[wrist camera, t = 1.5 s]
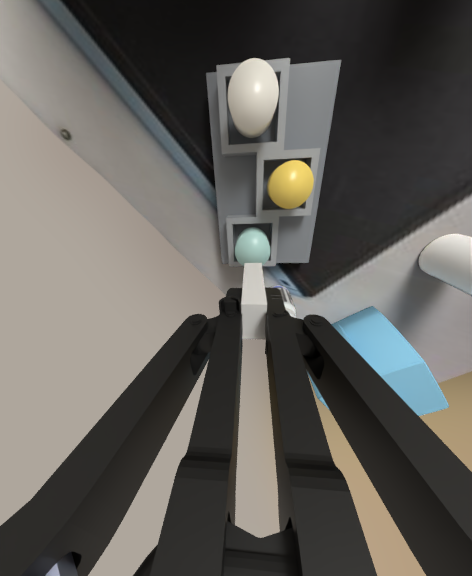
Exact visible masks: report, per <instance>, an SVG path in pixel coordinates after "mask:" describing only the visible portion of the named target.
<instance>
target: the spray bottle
mask: <svg viewBox="0 0 472 576" xmlns="http://www.w3.org/2000/svg"><path fill="white" fill-rule="evenodd" d="M419 266H420V268H421V270H423V271H424V272H425V273H427V274H429V275H431V276H433V277H435V278H437V279H439V280H441V281H443V282H445V283H447V284H449V285H451V286H453V287H455V288H457V289H459V290H461V291H463V292H465V293H467V294H469V295H471V296H472V237H469V236H465V235H460V234H448V235H445V236H441V237H439V238H437V239H435V240H434V241H432V242H431V243H430V244H428V245H427V246H426V247H425V248H424V250H423V251H422V252H421V254H420V257H419Z"/></svg>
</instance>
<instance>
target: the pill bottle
mask: <svg viewBox="0 0 472 576" xmlns="http://www.w3.org/2000/svg"><path fill="white" fill-rule="evenodd" d="M271 288H278V289H279V290H280V291H281V295H282V299H283V302H284V306H285V309H286V310H287V311H288V312H289V314H290V316H292V317H294V318H296V309H295V306H294V304H293V301H292V298H291V296H290V293H289V291H288V289H287V288H285V287H283V286H280V285H276V286H273V287H271Z"/></svg>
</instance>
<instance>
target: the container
mask: <svg viewBox="0 0 472 576" xmlns="http://www.w3.org/2000/svg"><path fill="white" fill-rule="evenodd" d="M331 325H332V326H333V327H334V328H335V329H336V330H337V331H338V332H339V333H340V334H341V335H342V336H343V337H344V338H345V339H346V341H347V342H348V343H349V344H350V345H351V346H352V347H353V348H354V349H355V350H356V351H357V352H358V353H359V354H360V355H361V356H362V357H363V358H364V359H365V361H366V362H367V363H368V364H369V365H370V366H371V367H372V368H373V369H374V370H375V371H376V372H377V373H378V374H379V375H380V376H381V377H382V378H383V379H384V381H385V382H386V383H387V384H388V385H389V386H390V387H391V388H392V389H393V390H394V391H395V392H396V393H397V394H398V395H399V396H400V397H401V398H402V399H403V401H404V402H405V403H406V404H407V405H408V406H409V407H410V408H411V409H412V410H413V411H414V412H415V413H416V414H417V415H418V416H420V415H424V414H428V413H432V412H435V411H438V410H442V409H445V408H448V407H449V405H448V403H447V401H446V399H445V397H444V395H443V393H442V391H441V389H440V387H439V386H438V384H437V382H436V380H435V378H434V377H433V375H432V373H431V371H430V370H429V368H428V366H427V364H426V363H425V361H424V360H423V359H422V358H421V357H420V355H419V354H418V353H417V352H416V351H415V349H414V348H413V347H412V346H411V345H410V344H409V343H408V341H407V340H406V339H405V338H404V337H403V336H402V335H401V333H400V332H399V331H398V330H397V329H396V328H395V327H394V326H393V325H392V324H391V323H390V322H389V321H388V320H387V318H386V317H385V316H384V315H383V314H382V313H380V312H379V311H378V310H377V309H376V308H374V307H373V306H371V307H368V308H366V309H364V310H361V311H359V312H357V313H355V314H353V315H351V316H348V317H346V318H344V319H342V320H340V321H338V322H336V323H334V324H331ZM308 375H309V373H308ZM309 378H310V380H311V383H312V386H313V388H314V390H315V393H316V396H317V398H318V399H319V400H320V401H321V402H322V403H323V404H324V405H325V406H326V407H327V408H328V406H327V404H326V403H325V401H324V399H323V397H322V396H321V394H320V392H319V391H318V389H317V387H316V385H315V384H314V382H313V380H312V378H311V377H310V375H309ZM328 409H329V408H328Z"/></svg>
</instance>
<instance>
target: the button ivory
mask: <svg viewBox="0 0 472 576" xmlns="http://www.w3.org/2000/svg"><path fill="white" fill-rule="evenodd" d="M278 95H279V87H278V80H277V77H276V74H275V72H274V70H273V69H272V67H271V66H270V65H269V64H268V63H267V62H266V61H264V60H262V59H258V58H251V59H248V60H246V61H244V62H242V63H241V64H240V65H239V66H238V67H237V68H236V70H235V71H234V73H233V75H232V77H231V79H230V83H229V87H228V104H229V109H230V112H231V116H232V119H233V123H234V125H235V127H236V129H237V130H238V132H239V133H240V134H241V135H243V136H245V137H247V138H256V137H258V136H260V135H262V134H263V133H264V132H265V131H266V130H267V129H268V127H269V125H270V123H271V121H272V118H273V115H274V112H275V109H276V106H277V102H278Z"/></svg>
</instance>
